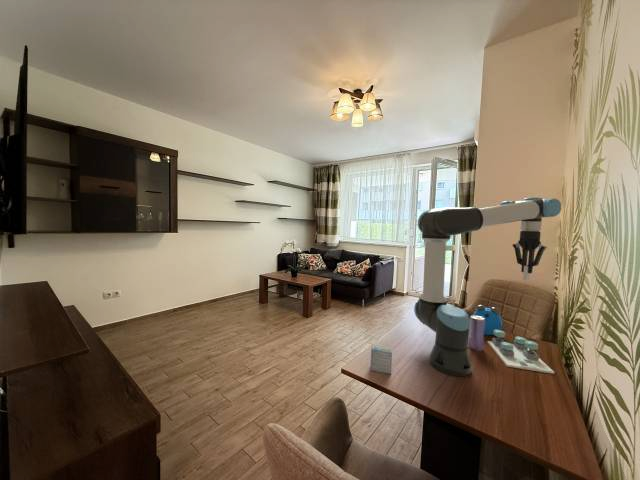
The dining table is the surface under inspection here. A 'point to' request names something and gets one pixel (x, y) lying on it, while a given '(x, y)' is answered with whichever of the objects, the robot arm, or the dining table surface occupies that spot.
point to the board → (519, 357)
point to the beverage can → (476, 332)
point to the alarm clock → (489, 318)
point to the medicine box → (381, 359)
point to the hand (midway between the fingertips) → (525, 279)
